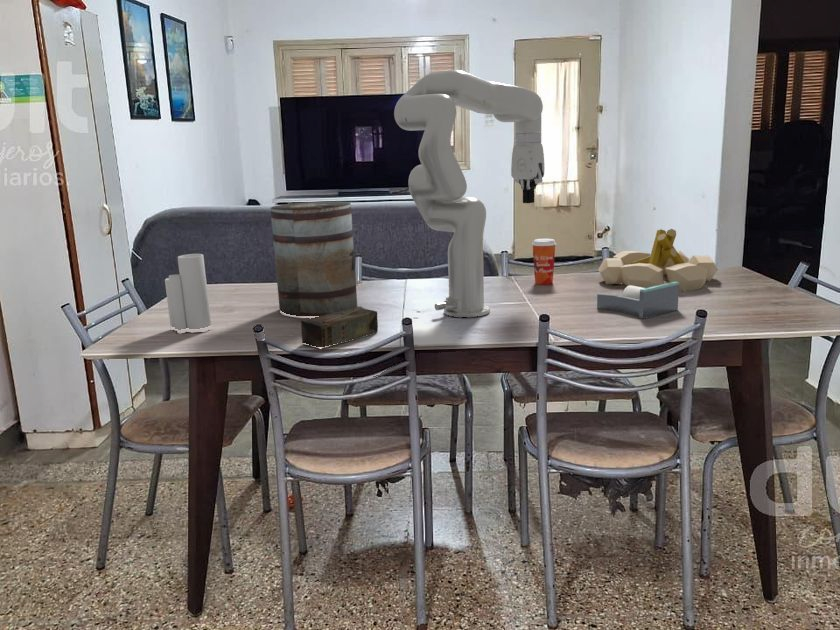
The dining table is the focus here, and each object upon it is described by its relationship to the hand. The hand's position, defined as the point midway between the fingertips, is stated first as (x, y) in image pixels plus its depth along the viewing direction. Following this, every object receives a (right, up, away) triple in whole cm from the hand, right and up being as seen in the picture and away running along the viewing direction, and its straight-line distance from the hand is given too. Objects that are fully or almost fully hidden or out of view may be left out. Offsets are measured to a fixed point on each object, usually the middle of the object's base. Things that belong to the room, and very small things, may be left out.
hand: (528, 202), depth 214 cm
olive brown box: (-52, -40, -36) cm, 75 cm away
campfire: (+43, -23, +15) cm, 51 cm away
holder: (+26, -32, -20) cm, 46 cm away
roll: (+27, -32, -21) cm, 47 cm away
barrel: (-62, -32, -4) cm, 70 cm away
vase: (-94, -38, -22) cm, 103 cm away
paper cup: (+8, -23, +18) cm, 30 cm away
